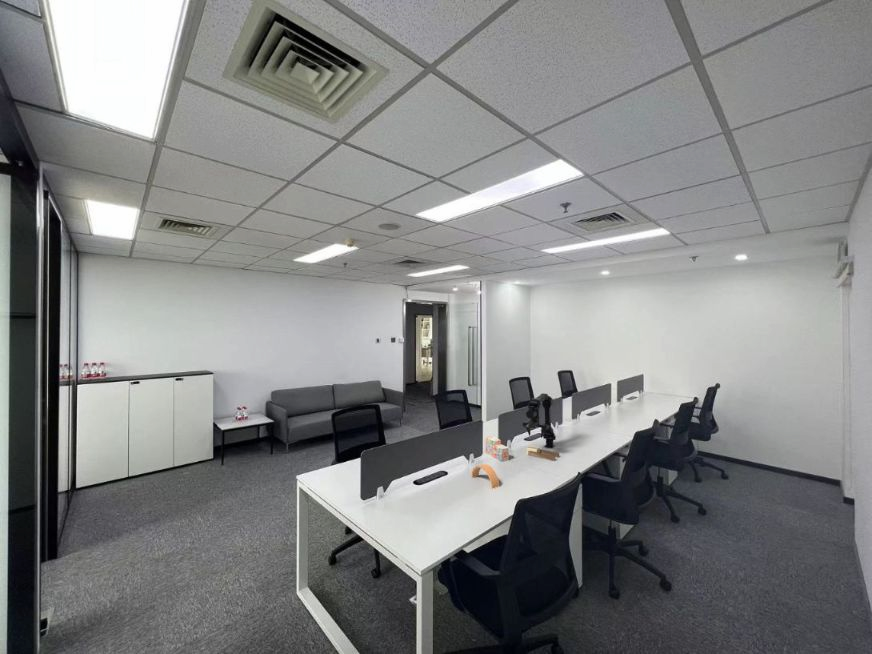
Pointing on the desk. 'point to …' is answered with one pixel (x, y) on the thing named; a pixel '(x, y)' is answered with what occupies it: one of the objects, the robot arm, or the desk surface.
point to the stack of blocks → (496, 448)
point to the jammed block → (533, 449)
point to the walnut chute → (544, 454)
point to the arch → (489, 471)
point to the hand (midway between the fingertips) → (535, 436)
